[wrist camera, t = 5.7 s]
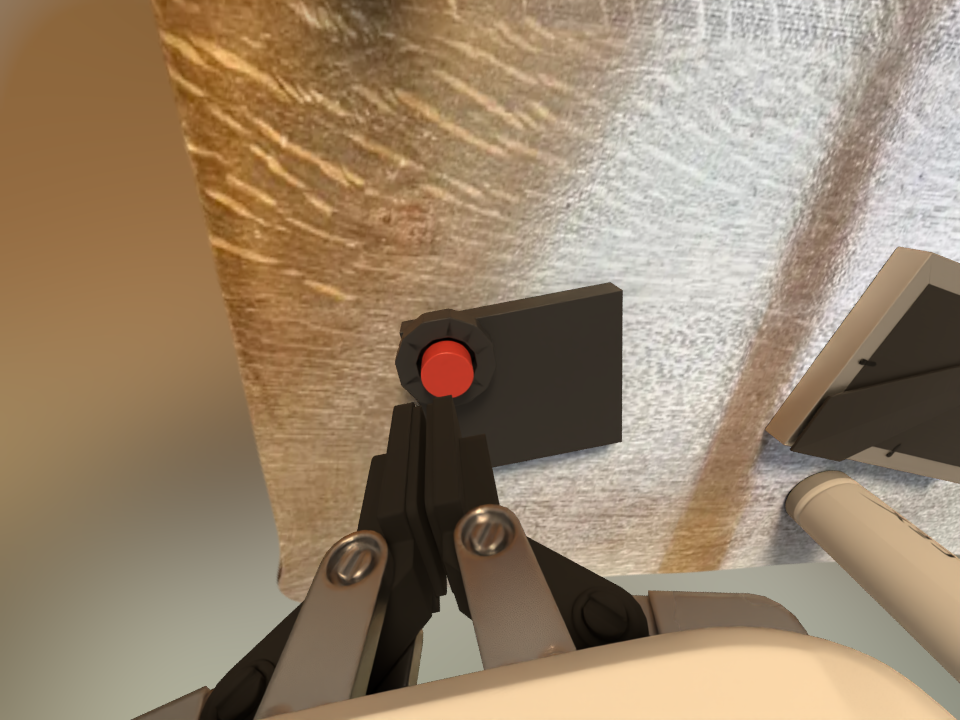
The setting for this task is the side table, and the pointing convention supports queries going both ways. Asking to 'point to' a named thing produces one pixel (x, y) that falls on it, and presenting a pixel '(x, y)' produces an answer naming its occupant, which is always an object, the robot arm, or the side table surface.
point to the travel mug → (885, 559)
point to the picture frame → (887, 376)
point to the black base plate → (530, 371)
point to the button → (446, 369)
